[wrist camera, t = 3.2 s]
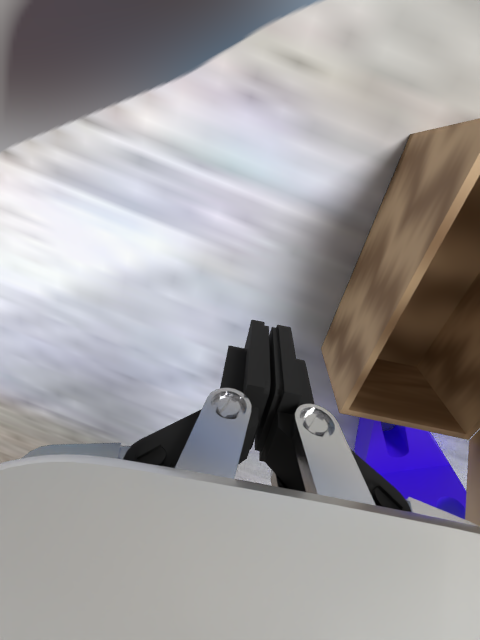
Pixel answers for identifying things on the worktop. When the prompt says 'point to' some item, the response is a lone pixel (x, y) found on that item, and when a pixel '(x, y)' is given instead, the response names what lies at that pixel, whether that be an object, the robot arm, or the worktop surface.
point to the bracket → (411, 464)
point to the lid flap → (473, 481)
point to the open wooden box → (417, 295)
